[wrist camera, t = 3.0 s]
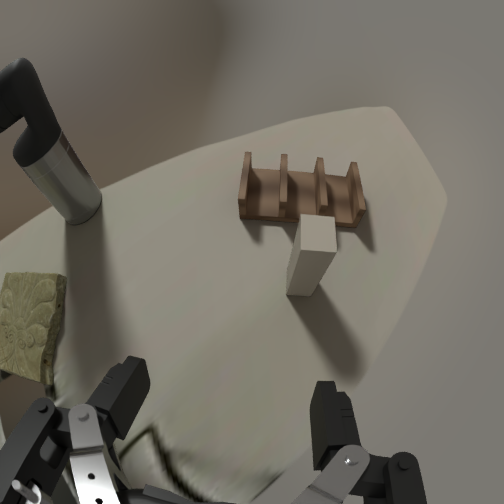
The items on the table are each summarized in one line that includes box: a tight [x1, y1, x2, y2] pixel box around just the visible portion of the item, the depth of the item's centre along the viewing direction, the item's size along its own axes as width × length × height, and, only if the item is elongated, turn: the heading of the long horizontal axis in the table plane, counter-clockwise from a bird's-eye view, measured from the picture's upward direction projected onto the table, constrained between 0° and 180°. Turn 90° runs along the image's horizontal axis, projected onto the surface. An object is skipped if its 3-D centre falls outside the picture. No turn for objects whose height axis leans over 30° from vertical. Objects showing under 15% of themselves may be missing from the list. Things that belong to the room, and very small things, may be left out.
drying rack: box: [238, 152, 366, 228], centre depth 43 cm, size 10×19×5 cm, turn 85°
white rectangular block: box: [286, 214, 337, 296], centre depth 32 cm, size 4×4×14 cm
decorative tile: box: [0, 272, 67, 385], centre depth 34 cm, size 19×20×4 cm
